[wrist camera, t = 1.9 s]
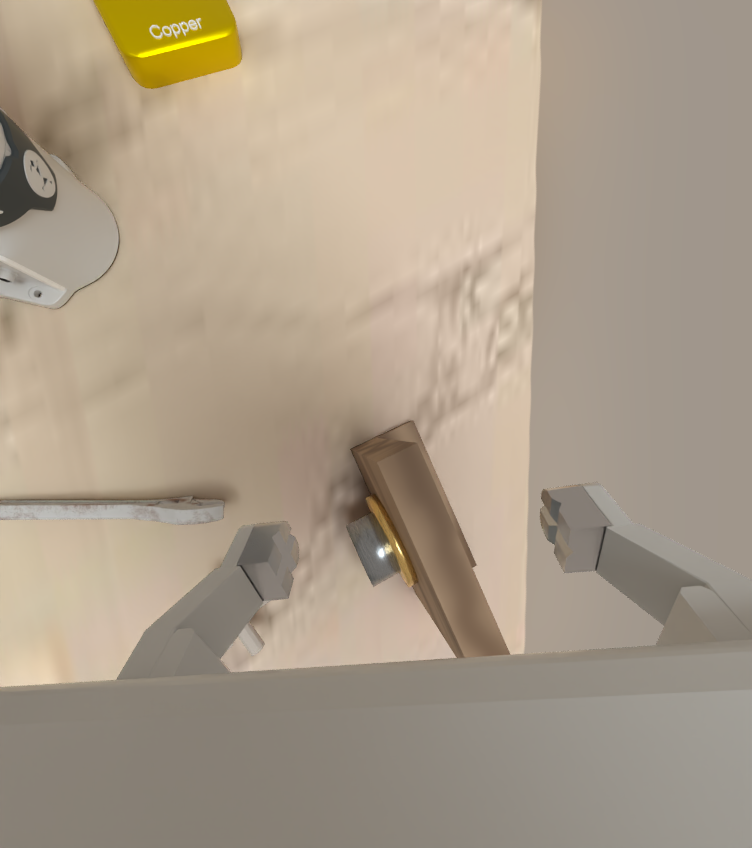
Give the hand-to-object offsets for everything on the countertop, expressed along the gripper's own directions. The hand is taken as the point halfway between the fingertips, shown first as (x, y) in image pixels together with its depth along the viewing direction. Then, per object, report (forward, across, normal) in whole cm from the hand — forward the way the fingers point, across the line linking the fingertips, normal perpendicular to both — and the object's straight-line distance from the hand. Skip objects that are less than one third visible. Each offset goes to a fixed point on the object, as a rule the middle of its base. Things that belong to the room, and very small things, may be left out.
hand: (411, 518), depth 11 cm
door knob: (+25, +9, +29) cm, 40 cm away
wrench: (+23, +39, +15) cm, 48 cm away
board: (+29, +2, +29) cm, 41 cm away
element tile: (+58, +24, -36) cm, 73 cm away
